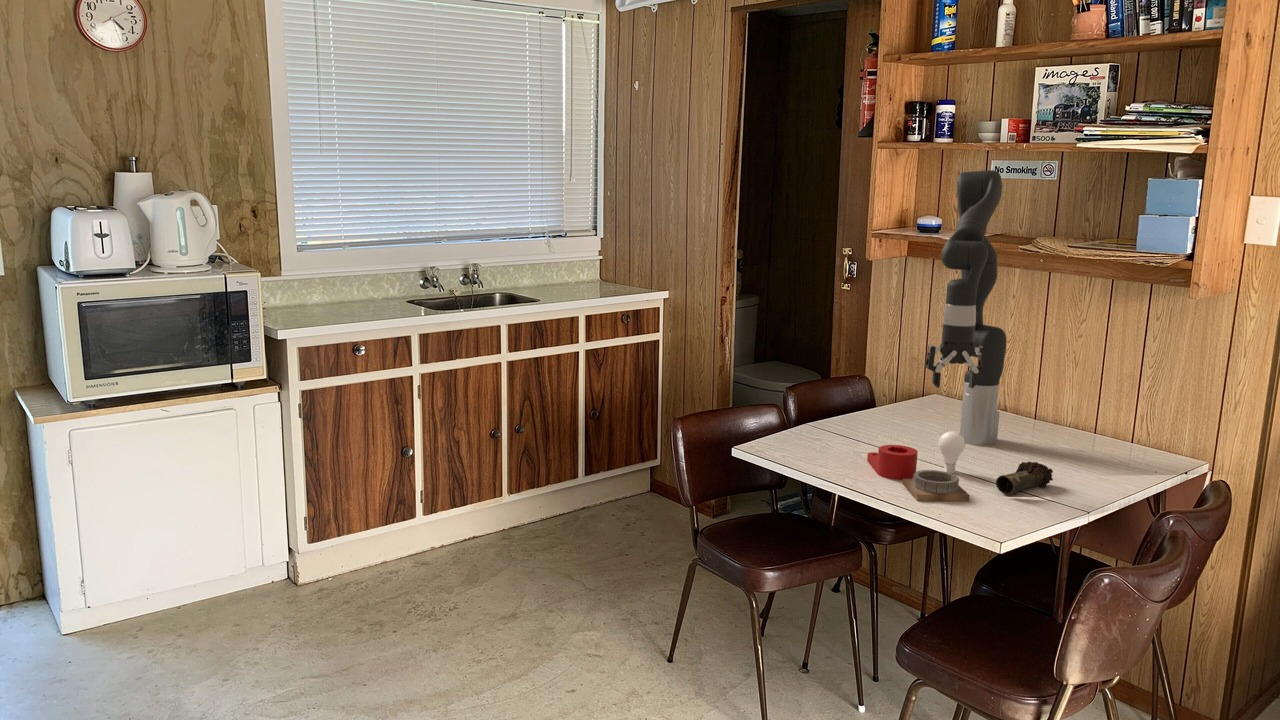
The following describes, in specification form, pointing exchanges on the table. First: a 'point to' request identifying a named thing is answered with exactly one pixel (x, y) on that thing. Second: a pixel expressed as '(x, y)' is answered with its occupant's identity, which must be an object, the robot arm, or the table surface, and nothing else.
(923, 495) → the socket board
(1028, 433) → the table surface
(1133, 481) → the table surface
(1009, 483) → the vacuum brush nozzle
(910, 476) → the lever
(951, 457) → the lightbulb
